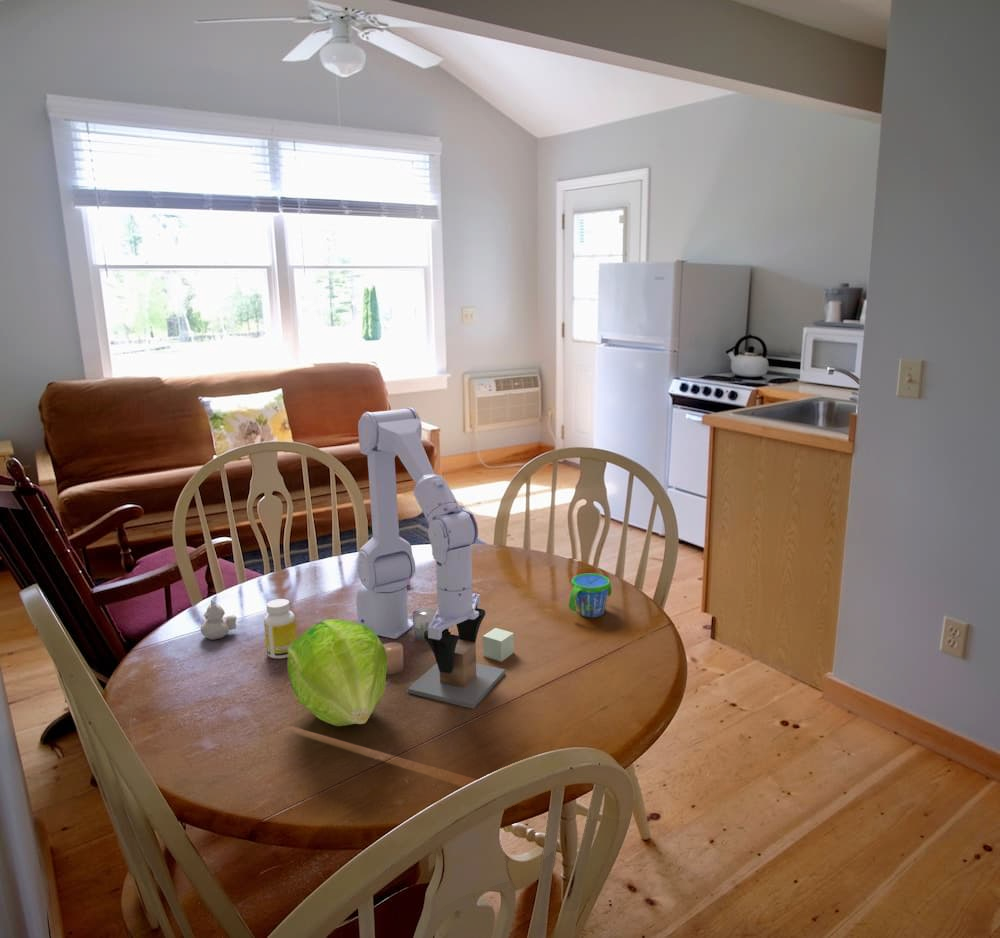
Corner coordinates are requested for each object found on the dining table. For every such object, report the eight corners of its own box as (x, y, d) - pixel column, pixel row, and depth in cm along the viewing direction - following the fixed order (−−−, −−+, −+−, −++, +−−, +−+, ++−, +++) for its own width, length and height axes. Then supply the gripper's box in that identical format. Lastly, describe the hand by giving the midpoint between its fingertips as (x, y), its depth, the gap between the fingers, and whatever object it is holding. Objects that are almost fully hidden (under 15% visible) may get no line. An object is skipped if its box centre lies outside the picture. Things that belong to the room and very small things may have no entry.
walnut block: (440, 682, 119) (438, 649, 118) (452, 670, 123) (451, 638, 122) (464, 688, 117) (463, 654, 116) (476, 675, 121) (475, 642, 120)
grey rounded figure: (201, 635, 140) (196, 596, 138) (236, 628, 143) (232, 590, 141) (203, 646, 135) (198, 606, 134) (239, 638, 138) (235, 600, 136)
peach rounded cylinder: (376, 671, 125) (375, 650, 124) (389, 661, 129) (387, 640, 128) (395, 676, 123) (394, 654, 122) (408, 665, 127) (407, 644, 126)
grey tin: (409, 639, 137) (408, 615, 136) (421, 630, 141) (420, 606, 140) (429, 643, 135) (428, 618, 134) (440, 633, 139) (439, 609, 138)
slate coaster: (408, 693, 118) (407, 688, 118) (443, 660, 128) (443, 656, 128) (473, 708, 113) (473, 704, 113) (505, 673, 123) (504, 669, 123)
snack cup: (582, 628, 140) (582, 592, 139) (556, 615, 146) (556, 580, 145) (623, 613, 147) (624, 579, 145) (597, 601, 153) (598, 568, 151)
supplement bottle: (303, 648, 134) (299, 599, 131) (283, 662, 129) (279, 611, 127) (281, 643, 136) (276, 595, 134) (260, 656, 131) (255, 606, 129)
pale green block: (483, 656, 130) (482, 635, 129) (495, 647, 133) (495, 627, 132) (501, 662, 128) (501, 641, 127) (513, 653, 131) (513, 633, 130)
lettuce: (302, 781, 96) (292, 678, 93) (288, 698, 117) (280, 611, 113) (409, 756, 101) (404, 657, 98) (378, 681, 122) (373, 597, 118)
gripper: (455, 605, 109) (457, 686, 112) (495, 572, 121) (496, 646, 124) (415, 598, 111) (418, 677, 115) (458, 567, 124) (460, 639, 127)
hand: (456, 660), depth 120 cm, fingers open, 7 cm apart
